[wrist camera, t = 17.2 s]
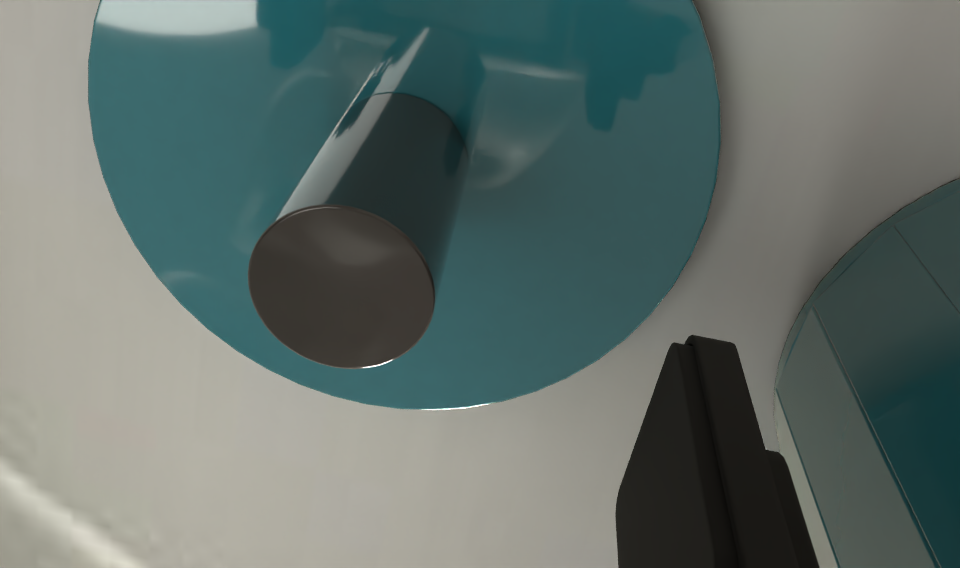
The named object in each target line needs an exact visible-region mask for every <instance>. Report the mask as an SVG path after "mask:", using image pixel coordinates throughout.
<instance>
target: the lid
mask: <svg viewBox="0 0 960 568" xmlns="http://www.w3.org/2000/svg"><path fill="white" fill-rule="evenodd" d="M88 103H89V111H90V118H91V126H92V134H93V140H94V144H95V148H96V152H97V156H98V159H99V163H100V167H101V171H102V175H103V178H104V180H105V183H106V185H107V188H108V191H109V193H110V196H111V198H112V201H113V203H114V206H115V208H116V211H117V213H118V215H119V217H120V218H121V220H122V222H123V224H124V226H125V228H126V230H127V231H128V233H129V235H130V237H131V239H132V241H133V243H134V244H135V246H136V248H137V249H138V250H139V252H140V253H141V255H142V256H143V258H144V259H145V260H146V262H147V263H148V265H149V266H150V268H151V269H152V271H153V272H154V273H155V275H156V276H157V277H158V279H159V280H160V281H161V282H162V283H163V284H164V285H165V287H166V288H167V289H168V290H169V291H170V292H171V293H172V295H173V296H174V297H175V298H176V299H177V300H178V301H179V303H180V304H181V305H182V306H183V307H184V308H186V309H187V310H188V311H189V312H190V313H191V314H192V315H193V316H194V317H195V318H196V319H197V320H198V321H200V322H201V323H202V324H203V325H204V326H205V327H206V328H207V329H208V330H210V331H211V332H212V333H214V334H215V335H216V336H218V337H219V338H220V339H222V340H223V341H224V342H226V343H227V344H228V345H230V346H231V347H232V348H234V349H235V350H236V351H238V352H240V353H241V354H243V355H244V356H246V357H248V358H249V359H251V360H253V361H254V362H256V363H258V364H259V365H261V366H263V367H264V368H266V369H268V370H270V371H272V372H274V373H276V374H278V375H281V376H283V377H285V378H287V379H289V380H291V381H293V382H295V383H298V384H300V385H303V386H306V387H308V388H311V389H314V390H317V391H320V392H322V393H325V394H328V395H331V396H334V397H339V398H343V399H347V400H351V401H355V402H359V403H363V404H368V405H375V406H383V407H390V408H397V409H417V410H443V409H457V408H470V407H475V406H481V405H486V404H492V403H497V402H502V401H506V400H509V399H513V398H516V397H519V396H523V395H526V394H529V393H533V392H536V391H538V390H540V389H543V388H545V387H547V386H550V385H552V384H554V383H557V382H559V381H561V380H564V379H566V378H568V377H570V376H571V375H573V374H575V373H577V372H578V371H580V370H582V369H584V368H585V367H587V366H589V365H590V364H592V363H594V362H596V361H597V360H599V359H600V358H601V357H603V356H604V355H605V354H607V353H608V352H609V351H611V350H612V349H613V348H614V347H616V346H617V345H618V344H620V343H621V342H622V341H624V340H625V339H626V338H627V337H628V336H629V335H630V334H631V333H632V332H633V331H634V330H635V329H636V328H637V327H638V326H639V325H640V324H641V323H642V322H643V321H644V320H646V319H647V318H648V317H649V316H650V315H651V313H652V312H653V311H654V309H655V308H656V307H657V306H658V304H659V303H660V302H661V301H662V299H663V298H664V297H665V296H666V294H667V293H668V292H669V290H670V289H671V288H672V287H673V285H674V283H675V282H676V280H677V278H678V277H679V275H680V273H681V272H682V270H683V268H684V267H685V265H686V263H687V261H688V260H689V258H690V256H691V255H692V252H693V250H694V248H695V245H696V243H697V241H698V238H699V236H700V233H701V231H702V229H703V226H704V224H705V222H706V219H707V215H708V211H709V208H710V204H711V200H712V196H713V193H714V189H715V185H716V180H717V172H718V164H719V155H720V147H721V115H720V97H719V91H718V84H717V78H716V72H715V66H714V60H713V56H712V53H711V50H710V47H709V43H708V40H707V37H706V34H705V31H704V27H703V24H702V21H701V18H700V15H699V13H698V11H697V9H696V7H695V5H694V3H693V1H692V0H100V3H99V6H98V9H97V13H96V16H95V19H94V25H93V32H92V39H91V46H90V53H89V60H88Z"/></svg>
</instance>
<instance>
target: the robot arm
mask: <svg viewBox="0 0 960 568" xmlns="http://www.w3.org/2000/svg"><path fill="white" fill-rule="evenodd" d="M616 531H617V548H618V565H619V568H820V567H819V564H818V561H817V557H816V554H815V551H814V548H813V545H812V541H811V538H810V535H809V532H808V529H807V525H806V522H805V519H804V516H803V512H802V509H801V506H800V503H799V500H798V496H797V493H796V490H795V487H794V484H793V480H792V477H791V474H790V471H789V467H788V465H787V463H786V460H785V458H784V456H782V455H781V454H780V453H779V452H774V451H769V450H765V446H764V443H763V439H762V436H761V432H760V429H759V425H758V422H757V418H756V415H755V411H754V408H753V404H752V401H751V397H750V394H749V390H748V387H747V383H746V380H745V376H744V372H743V369H742V365H741V362H740V358H739V355H738V351H737V348H736V346H735V344H733V343H731V342H726V341H721V340H716V339H710V338H705V337H700V336H695V335H691V336H689V337H688V339H687V340H686V342H685V344H679V343H672V345H671V346H670V348H669V350H668V353H667V355H666V358H665V361H664V364H663V367H662V370H661V372H660V375H659V378H658V381H657V384H656V386H655V389H654V392H653V395H652V398H651V401H650V403H649V406H648V409H647V412H646V415H645V418H644V420H643V423H642V426H641V429H640V432H639V435H638V437H637V440H636V443H635V446H634V449H633V451H632V454H631V457H630V460H629V463H628V466H627V468H626V471H625V474H624V477H623V480H622V483H621V485H620V489H619V492H618V497H617V503H616Z"/></svg>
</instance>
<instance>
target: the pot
mask: <svg viewBox="0 0 960 568" xmlns="http://www.w3.org/2000/svg"><path fill="white" fill-rule="evenodd" d="M774 420H775V427H776V433H777V439H778V442H779V452H780V454H781V455H782V456H784V458H785V460H786V463H787V465H788V467H789V471H790V474H791V477H792V480H793V484H794V487H795V490H796V493H797V496H798V500H799V503H800V506H801V509H802V512H803V516H804V519H805V522H806V525H807V529H808V532H809V535H810V538H811V541H812V545H813V548H814V551H815V554H816V557H817V561H818V564H819V567H820V568H960V178H959V179H957V180H955V181H952V182H950V183H948V184H946V185H943V186H941V187H939V188H937V189H936V190H934V191H932V192H930V193H929V194H927V195H925V196H923V197H922V198H920V199H918V200H916V201H915V202H913V203H911V204H909V205H908V206H906V207H904V208H903V209H901V210H900V211H899V212H897V213H896V214H894V215H893V216H892V217H890V218H889V219H887V220H886V221H885V222H883V223H882V224H880V225H879V226H878V227H876V228H875V229H873V230H872V231H871V232H870V233H869V234H868V235H867V236H865V237H864V238H863V239H862V240H861V241H860V242H859V243H858V244H856V245H855V246H854V247H853V248H852V249H851V250H850V251H849V252H847V253H846V254H845V255H844V256H843V257H842V259H841V260H840V261H839V262H838V263H837V264H836V265H835V266H834V267H833V269H832V270H831V271H830V272H829V273H828V274H827V275H826V276H825V277H824V279H823V280H822V281H821V282H820V284H819V285H818V287H817V288H816V289H815V291H814V292H813V294H812V295H811V297H810V298H809V299H808V301H807V302H806V304H805V305H804V307H803V308H802V310H801V312H800V314H799V316H798V318H797V320H796V322H795V324H794V325H793V327H792V329H791V331H790V333H789V335H788V338H787V341H786V344H785V347H784V349H783V352H782V355H781V358H780V361H779V364H778V370H777V375H776V381H775V387H774Z"/></svg>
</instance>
